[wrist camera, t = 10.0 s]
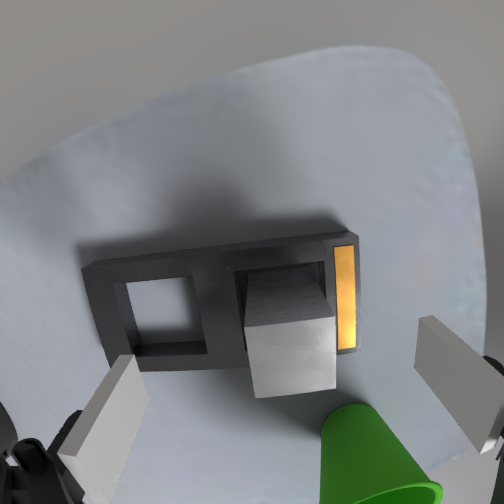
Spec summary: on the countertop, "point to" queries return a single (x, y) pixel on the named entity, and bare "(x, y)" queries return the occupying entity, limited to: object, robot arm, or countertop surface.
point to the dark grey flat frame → (220, 297)
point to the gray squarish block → (289, 334)
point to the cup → (369, 463)
